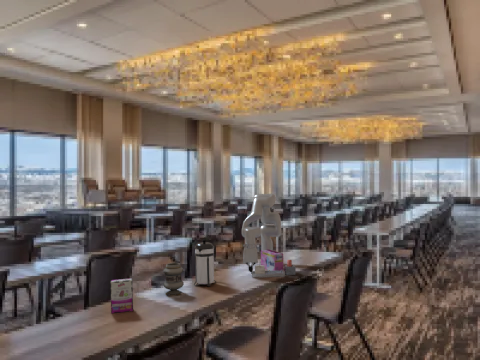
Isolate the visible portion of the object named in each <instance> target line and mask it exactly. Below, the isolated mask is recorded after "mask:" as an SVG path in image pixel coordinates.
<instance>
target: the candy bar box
mask: <svg viewBox="0 0 480 360" xmlns="http://www.w3.org/2000/svg"><path fill="white" fill-rule="evenodd" d="M133 285H134V284H133V278H132V277H131V278H123V279H122V278H121V279H111V280H110V313H111V314H119V313H128V312H129V311H130V312H134V291H133V290H134V287H133Z"/></svg>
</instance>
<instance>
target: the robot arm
mask: <svg viewBox="0 0 480 360" xmlns="http://www.w3.org/2000/svg"><path fill="white" fill-rule="evenodd" d="M276 201H277V198H276V195H275V194H273V193H258V194H257V193H256V194H254V196H253V202H252V206H251V212H250V214H249V215H247V217H246V218H245V219H244V220H243V222H242V228H241V236H242V237H243V238H244V243H243V244H242V247H243V255H242V257H243V260H242V261H243V262H242V264H243V265H246V266H247V267H248V272H249V273H251V272H252V271H254V269H253V268H254V267H255V265H257V264H258V263H259V264H260V263H261V260H260V261H259V258H258V256H259V255H258V248H257V247H256V238H259V237H260V241H261V243H260V244H261V246H260V247H261V248H260V249H261V250H262V251H263V250H267V249H270V250H273V251H274V242H273V239H272V237H273V238H274V237H277V238H278V237H281V235H282V223H281V215H280V214H279V212H272V211H271V208H272V207H273V206H274V205H275V204H276ZM258 220H260V222H261V224H263V225H261V226H260V227H257V226H249V225H250V224H252V223H253V222H255V221H258ZM261 250H260V251H261Z"/></svg>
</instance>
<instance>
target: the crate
mask: <svg viewBox="0 0 480 360" xmlns="http://www.w3.org/2000/svg"><path fill="white" fill-rule="evenodd" d="M254 271H255V274H265V271H266V269H265V266H264V265H261V264H258V265H257V264H255V265H254Z"/></svg>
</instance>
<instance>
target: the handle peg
mask: <svg viewBox="0 0 480 360" xmlns="http://www.w3.org/2000/svg"><path fill="white" fill-rule="evenodd" d="M286 262H287V264H286V265H287V266H292V265H293V261H292V259H287V261H286Z"/></svg>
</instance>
